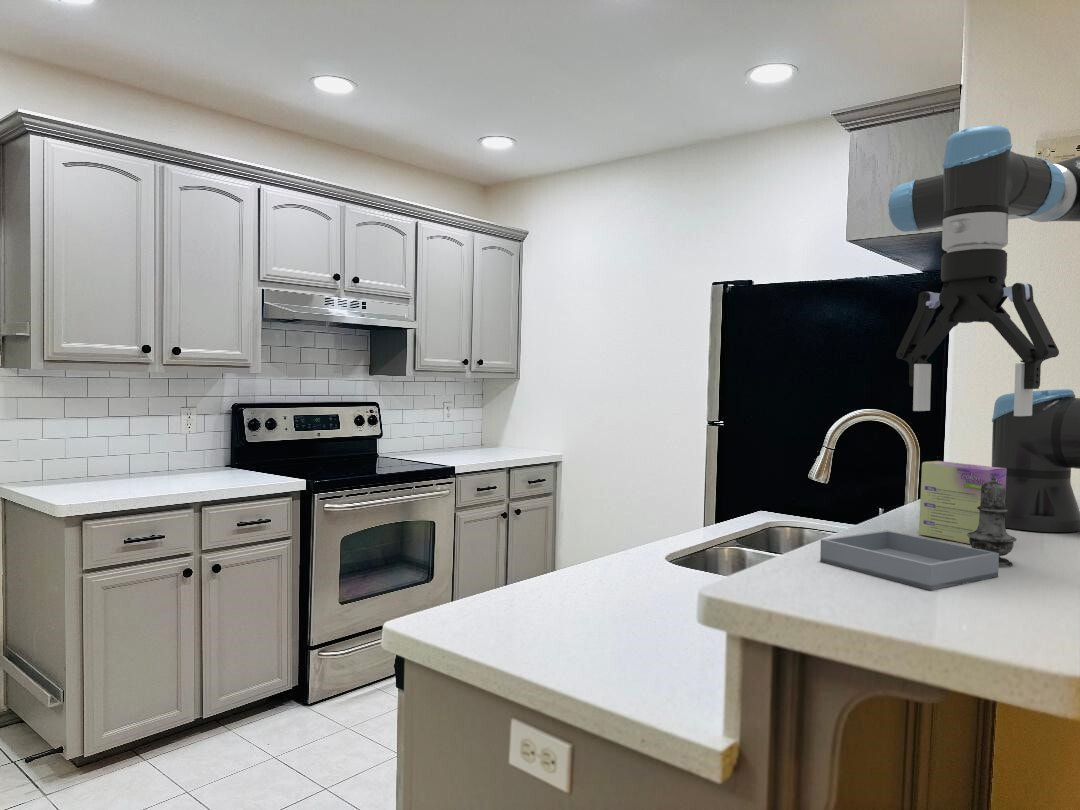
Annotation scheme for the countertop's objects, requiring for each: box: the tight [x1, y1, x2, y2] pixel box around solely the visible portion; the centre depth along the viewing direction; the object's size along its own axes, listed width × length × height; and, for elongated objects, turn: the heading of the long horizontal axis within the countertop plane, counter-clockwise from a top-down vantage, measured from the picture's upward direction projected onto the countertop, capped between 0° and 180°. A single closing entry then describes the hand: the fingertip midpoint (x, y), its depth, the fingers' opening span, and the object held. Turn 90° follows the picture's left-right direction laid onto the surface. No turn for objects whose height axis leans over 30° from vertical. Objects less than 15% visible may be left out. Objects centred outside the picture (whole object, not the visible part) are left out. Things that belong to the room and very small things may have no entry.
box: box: [918, 460, 1007, 545], centre depth 121 cm, size 10×6×12 cm, turn 34°
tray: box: [819, 530, 1000, 591], centre depth 102 cm, size 14×16×3 cm
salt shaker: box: [967, 475, 1017, 568], centre depth 106 cm, size 6×6×12 cm
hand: (969, 413), depth 102 cm, fingers open, 13 cm apart
